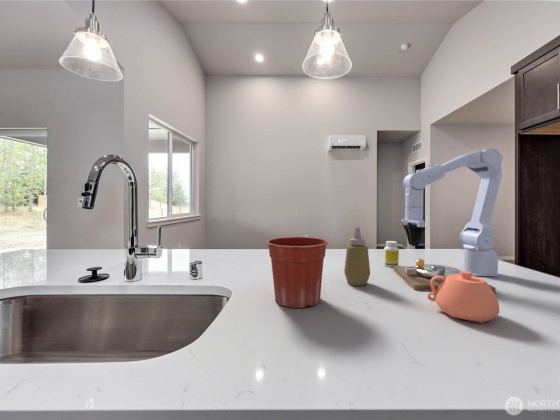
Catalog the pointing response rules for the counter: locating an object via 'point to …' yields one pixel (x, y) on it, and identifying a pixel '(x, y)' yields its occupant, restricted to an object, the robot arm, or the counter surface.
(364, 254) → the squeeze bottle
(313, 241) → the flower pot
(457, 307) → the sugar bowl
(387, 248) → the supplement bottle
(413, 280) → the post board
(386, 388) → the counter surface
